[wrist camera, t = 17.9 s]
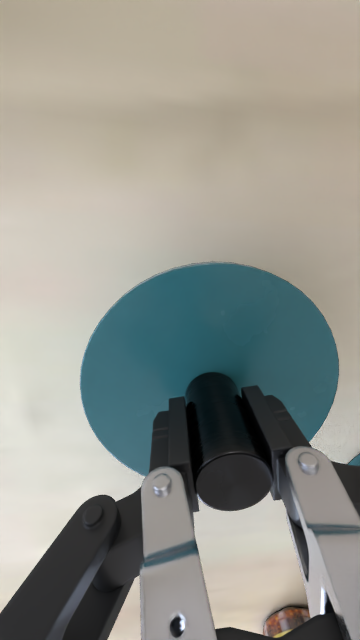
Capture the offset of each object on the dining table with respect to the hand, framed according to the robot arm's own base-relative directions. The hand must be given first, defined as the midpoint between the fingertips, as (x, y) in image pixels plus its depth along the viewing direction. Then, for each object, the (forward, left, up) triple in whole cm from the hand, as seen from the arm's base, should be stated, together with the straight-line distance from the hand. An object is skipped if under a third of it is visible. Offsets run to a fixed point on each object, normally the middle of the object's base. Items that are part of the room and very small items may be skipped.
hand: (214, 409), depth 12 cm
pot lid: (0, 0, -2) cm, 2 cm away
